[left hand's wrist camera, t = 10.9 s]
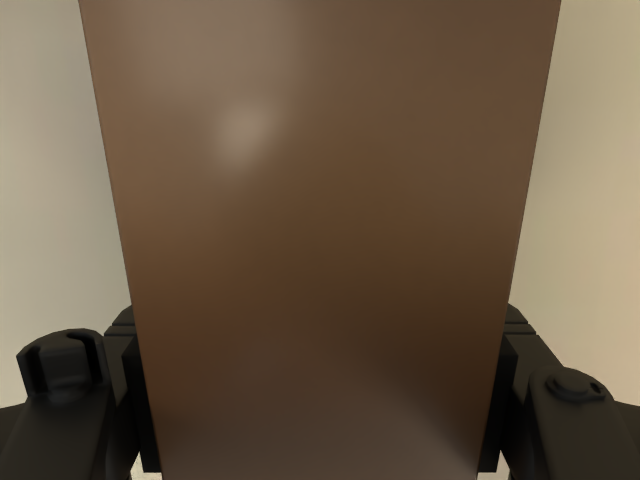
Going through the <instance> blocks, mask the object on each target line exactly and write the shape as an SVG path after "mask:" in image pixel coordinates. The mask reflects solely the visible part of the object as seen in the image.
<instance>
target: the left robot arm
mask: <svg viewBox="0 0 640 480" xmlns="http://www.w3.org/2000/svg"><path fill="white" fill-rule="evenodd" d="M16 358H17V361H18V365H19V368H20V372H21V375H22V378H23V382H24V385H25V389H26V392H27V395H28V397H27V399H26V402H25V403H22V404H19V405H15V406H10V407H5V408H0V480H132V477H131V472H130V471H131V468H132V466H133V464H134V462H135V460H136V458H137V455H138V453H139V451H140V457H141V462H142V467H143V472H144V473H161V468H160V463H159V457H158V451H157V446H156V440H155V434H154V429H153V423H152V417H151V411H150V406H149V400H148V394H147V389H146V383H145V377H144V372H143V366H142V360H141V355H140V349H139V343H138V337H137V332H136V326H135V320H134V315H133V309H132V305H131V306H129V307H127V308H126V309H124V310H123V311H122V312H121V313H120V314H119V315H118V317H117V318H116V319H115V320H114V322H113V323H112V326H110V327H109V328H108V329H107V331H106V332H105V333H104V336H102V335H100V334H99V333H98V332H97V331H94V330H90V329H85V328H79V329H67V330H62V331H58V332H53V333H51V334H48V335H45V336H43V337H40V338H38V339H36V340H35V341H33V342H31V343H30V344H28V345H27V346H25V347H24V348H23V349H22V350H21V351H20V352H19V353H18V354H17V356H16ZM500 450H501V452H502V454H503V456H504V458H505V460H506V462H507V464H508V467H509V469H510V472H509V477H508V480H640V406H635V405H630V404H625V403H621V402H618V401H614V399H613V396H612V395H611V394H610V392H609V391H608V390H607V388H606V387H605V386H604V385H603V384H601V383H600V382H599V381H597V380H596V379H594V378H593V377H591V376H589V375H587V374H585V373H583V372H580V371H578V370H575V369H571V368H567V367H563V365H562V364H561V363H560V362H559V360H558V359H557V358H556V356H555V355H554V354H553V353H552V351H551V350H550V349H549V348H548V346H547V345H546V344H545V343H544V341H543V340H542V339H541V338H540V336H539V335H536V331H535V330H534V329H533V328H532V326H531V325H530V324H528V321H527V320H526V319H525V318H524V316H523V315H522V314H521V313H520V311H519V310H518V309H517V308H515V307H513V306H512V305H510V304H509V303H508V306H507V312H506V317H505V323H504V329H503V334H502V340H501V346H500V351H499V357H498V363H497V368H496V374H495V380H494V385H493V391H492V397H491V402H490V408H489V414H488V419H487V425H486V431H485V436H484V442H483V448H482V453H481V459H480V465H479V470H478V472H496V471H497V465H498V460H499V455H500Z"/></svg>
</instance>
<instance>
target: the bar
mask: <svg viewBox="0 0 640 480" xmlns="http://www.w3.org/2000/svg"><path fill="white" fill-rule="evenodd" d="M78 1H79V7H80V13H81V18H82V24H83V30H84V35H85V41H86V47H87V52H88V58H89V64H90V70H91V75H92V81H93V87H94V92H95V98H96V104H97V109H98V115H99V121H100V127H101V132H102V138H103V144H104V149H105V155H106V161H107V166H108V172H109V178H110V184H111V189H112V195H113V201H114V206H115V212H116V218H117V223H118V229H119V235H120V241H121V246H122V252H123V258H124V263H125V269H126V275H127V280H128V286H129V292H130V298H131V303H132V309H133V315H134V320H135V326H136V332H137V337H138V343H139V349H140V355H141V360H142V366H143V372H144V377H145V383H146V389H147V394H148V400H149V406H150V411H151V417H152V423H153V429H154V434H155V440H156V446H157V451H158V457H159V463H160V468H161V474H162V480H477V476H478V470H479V465H480V459H481V453H482V448H483V442H484V436H485V431H486V425H487V419H488V414H489V408H490V402H491V397H492V391H493V385H494V380H495V374H496V368H497V363H498V357H499V351H500V346H501V340H502V334H503V329H504V323H505V317H506V312H507V306H508V300H509V295H510V289H511V283H512V278H513V272H514V266H515V260H516V255H517V249H518V243H519V238H520V232H521V226H522V221H523V215H524V209H525V204H526V198H527V192H528V187H529V181H530V175H531V170H532V164H533V158H534V153H535V147H536V141H537V136H538V130H539V124H540V119H541V113H542V107H543V102H544V96H545V90H546V85H547V79H548V73H549V68H550V62H551V56H552V50H553V45H554V39H555V33H556V28H557V22H558V16H559V11H560V5H561V0H78Z"/></svg>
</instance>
